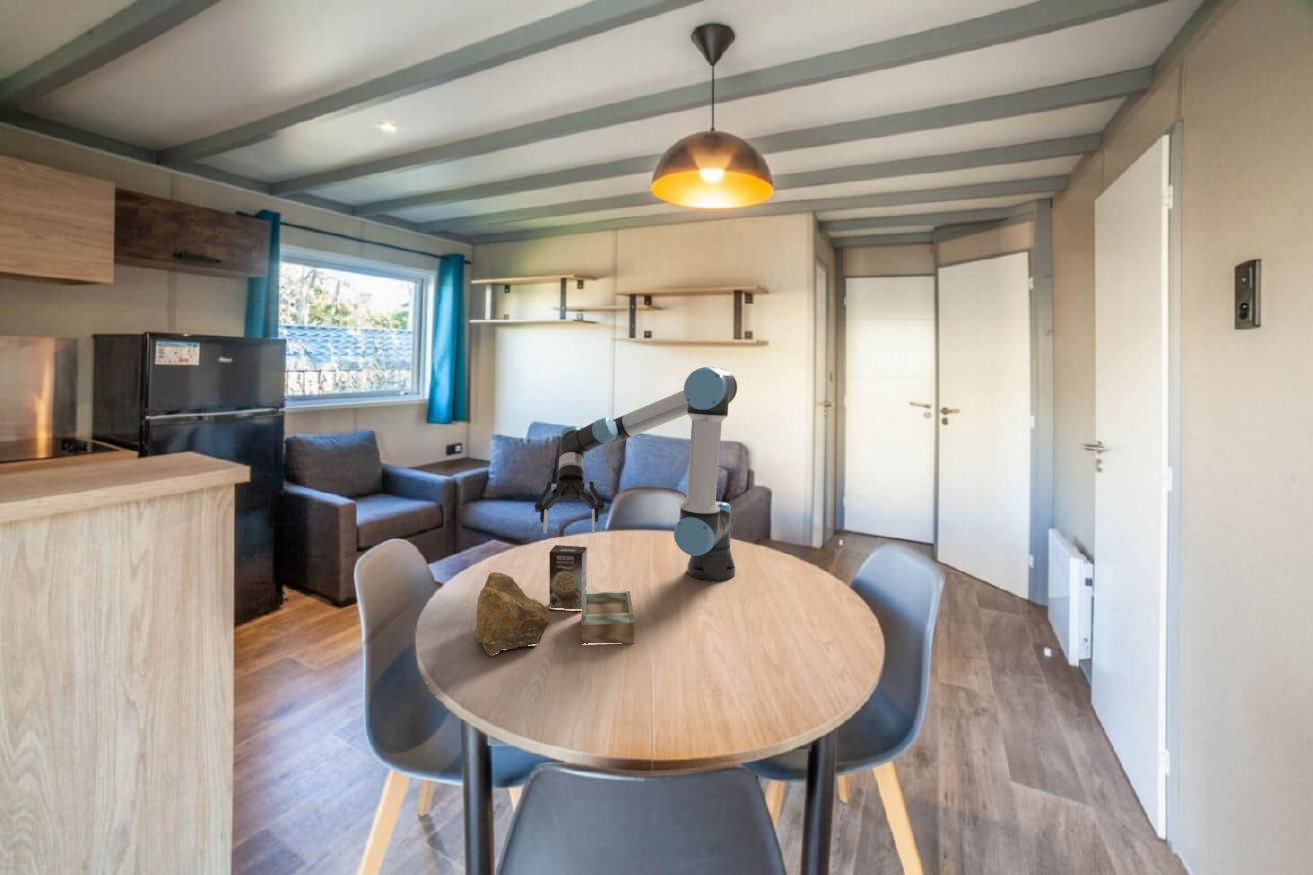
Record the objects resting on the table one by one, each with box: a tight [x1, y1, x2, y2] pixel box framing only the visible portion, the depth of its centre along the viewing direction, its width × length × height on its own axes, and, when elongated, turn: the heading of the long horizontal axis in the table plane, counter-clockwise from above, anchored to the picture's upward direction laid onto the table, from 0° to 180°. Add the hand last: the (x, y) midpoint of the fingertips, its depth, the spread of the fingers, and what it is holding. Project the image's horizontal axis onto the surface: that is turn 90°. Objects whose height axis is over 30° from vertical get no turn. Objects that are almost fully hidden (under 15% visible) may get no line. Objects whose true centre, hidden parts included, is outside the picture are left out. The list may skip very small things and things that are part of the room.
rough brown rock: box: [474, 571, 550, 655], centre depth 133 cm, size 23×17×15 cm
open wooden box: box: [580, 590, 635, 644], centre depth 140 cm, size 12×15×7 cm
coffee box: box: [548, 544, 588, 609], centre depth 154 cm, size 9×6×16 cm
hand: (569, 531), depth 164 cm, fingers open, 13 cm apart
